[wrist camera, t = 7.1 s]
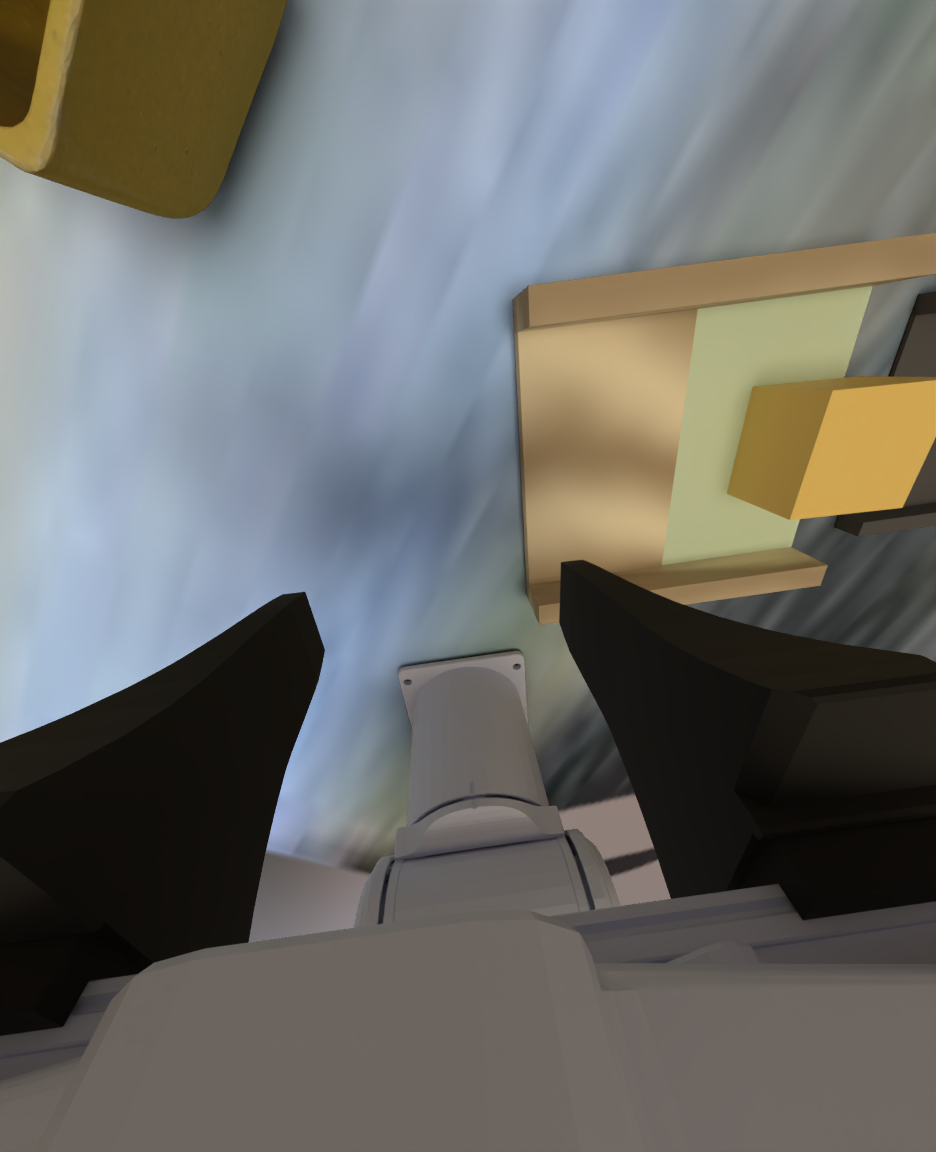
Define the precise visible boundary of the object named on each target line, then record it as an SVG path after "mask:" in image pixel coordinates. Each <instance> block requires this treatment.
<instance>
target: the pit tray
mask: <svg viewBox="0 0 936 1152" xmlns="http://www.w3.org/2000/svg"><path fill="white" fill-rule="evenodd" d="M889 377H936V292H931V293H924V294H919V296H918V298H917V301H916V304H915V307H914V310H913V312H912V315H911V318H910V321H909V323H908V326H907V329H906V332H905V334H904V337H903V340H902V343H901V345H900V348H899V351H898V354H897V356H896V359H895V362H894V365H893V367H892V370H891V373H890V376H889ZM929 526H936V438H935V440H934V442H933V444H932V446H931V448H930V450H929V452H928V455H927V457H926V459H925V461H924V463H923V465H922V467H921V469H920V472H919V474H918V476H917V478H916V480H915V482H914V484H913V486H912V489H911V491H910V493H909V495H908V497H907V499H906V501H905V503H904V505H903V508H896V509H887V510H878V511H869V512H860V513H851V514H841V515H839V516H838V519H837V522H836V525H835V528H838V529H840V530H843V531H845V532H848V533H850V534H853V535H856V536H865V535H872V534H879V533H886V532H894V531H901V530H908V529H915V528H922V527H929Z"/></svg>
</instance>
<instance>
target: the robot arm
mask: <svg viewBox="0 0 936 1152" xmlns="http://www.w3.org/2000/svg"><path fill="white" fill-rule="evenodd" d="M559 623H560V626H561V628H562V631H563V634H564V637H565V640H566V643H567V645H568V648H569V651H570V653H571V655H572V657H573V659H574V660H575V662H576V664H577V666H578V668H579V670H580V672H581V674H582V676H583V678H584V680H585V681H586V683H587V685H588V687H589V689H590V691H591V693H592V695H593V697H594V698H595V700H596V702H597V704H598V706H599V708H600V710H601V712H602V714H603V716H604V718H605V720H606V722H607V724H608V726H609V728H610V731H611V733H612V736H613V738H614V741H615V743H616V746H617V748H618V751H619V753H620V756H621V758H622V761H623V763H624V766H625V768H626V771H627V774H628V776H629V779H630V782H631V784H632V787H633V790H634V792H635V795H636V798H637V800H638V803H639V806H640V809H641V811H642V814H643V817H644V820H645V823H646V826H647V828H648V831H649V834H650V837H651V840H652V843H653V846H654V848H655V851H656V854H657V857H658V860H659V863H660V866H661V870H662V873H663V875H664V879H665V882H666V885H667V888H668V891H669V894H670V897H671V899H668V900H660V901H653V902H646V903H639V904H632V905H626V906H620V903H619V900H618V896H617V893H616V891H615V888H614V885H613V882H612V879H611V877H610V874H609V872H608V869H607V867H606V865H605V862H604V860H603V858H602V856H601V854H600V852H599V851H598V849H597V848H596V846H595V845H594V844H593V843H592V842H590V841H589V840H588V839H587V838H585V836H584V835H583V834H582V833H581V832H580V831H579V830H578V829H572V830H565V831H564V830H563V826H562V823H561V819H560V815H559V812H558V808H557V807H556V806H549V804H548V800H547V796H546V793H545V789H544V785H543V781H542V778H541V774H540V770H539V766H538V762H537V759H536V755H535V751H534V747H533V744H532V740H531V736H530V732H529V728H528V717H527V700H526V683H525V666H524V657H523V654H522V653H521V652H519V651H511V652H504V653H497V654H490V655H483V656H476V657H469V658H462V659H455V660H448V661H441V662H434V663H427V664H420V665H413V666H406V667H402V668H401V669H400V670H399V672H398V678H399V682H400V685H401V689H402V693H403V697H404V700H405V704H406V708H407V711H408V715H409V719H410V723H411V726H412V745H411V762H410V778H409V795H408V812H407V827H403V828H399V829H397V832H396V844H395V855H394V856H387V857H383V858H381V859H380V860H379V861H378V862H377V864H376V866H375V868H374V870H373V872H372V873H371V875H370V876H369V877H368V879H367V881H366V883H365V885H364V887H363V890H362V893H361V896H360V900H359V904H358V908H357V913H356V919H355V925H354V928H349V929H342V930H335V931H327V932H320V933H313V934H306V935H300V936H292V937H285V938H278V939H270V940H263V941H256V942H249V943H248V941H249V935H250V929H251V924H252V918H253V912H254V906H255V901H256V897H257V891H258V886H259V881H260V877H261V872H262V867H263V861H264V856H265V852H266V848H267V843H268V839H269V835H270V830H271V826H272V822H273V817H274V813H275V809H276V805H277V801H278V797H279V794H280V790H281V786H282V782H283V778H284V774H285V771H286V768H287V765H288V762H289V759H290V756H291V753H292V750H293V748H294V745H295V742H296V740H297V737H298V734H299V732H300V729H301V726H302V724H303V721H304V719H305V716H306V713H307V711H308V708H309V705H310V703H311V700H312V697H313V695H314V692H315V689H316V686H317V683H318V680H319V676H320V672H321V667H322V662H323V657H324V652H325V649H324V646H323V643H322V640H321V637H320V634H319V631H318V628H317V625H316V623H315V620H314V617H313V614H312V611H311V608H310V605H309V602H308V599H307V596H306V593H305V592H300V593H291V594H283V595H281V596H279V597H277V598H275V599H273V600H272V601H270V602H268V603H267V604H265V605H264V606H262V607H260V608H259V609H257V610H256V611H254V612H253V613H251V614H250V615H248V616H247V617H245V618H244V619H242V620H241V621H239V622H238V623H236V624H235V625H233V626H232V627H230V628H229V629H227V630H226V631H224V632H223V633H221V634H220V635H218V636H217V637H215V638H213V639H212V640H210V641H209V642H207V643H205V644H204V645H202V646H201V647H199V648H197V649H196V650H194V651H193V652H191V653H189V654H188V655H186V656H185V657H183V658H181V659H180V660H178V661H176V662H174V663H173V664H171V665H169V666H167V667H166V668H164V669H162V670H160V671H158V672H156V673H155V674H153V675H151V676H149V677H147V678H145V679H143V680H141V681H139V682H138V683H136V684H134V685H132V686H130V687H128V688H126V689H124V690H122V691H119V692H117V693H115V694H113V695H111V696H109V697H107V698H104V699H102V700H100V701H98V702H96V703H94V704H92V705H89V706H87V707H85V708H83V709H81V710H79V711H76V712H74V713H72V714H70V715H68V716H65V717H63V718H61V719H58V720H56V721H53V722H51V723H49V724H46V725H44V726H41V727H39V728H37V729H34V730H32V731H29V732H27V733H24V734H21V735H19V736H16V737H14V738H11V739H9V740H6V741H4V742H1V743H0V1152H936V662H934V661H932V660H930V659H928V658H926V657H924V656H921V655H915V654H908V653H901V652H894V651H886V650H879V649H872V648H865V647H857V646H850V645H843V644H837V643H831V642H826V641H821V640H815V639H810V638H805V637H799V636H794V635H790V634H785V633H780V632H776V631H771V630H767V629H763V628H759V627H755V626H751V625H747V624H744V623H740V622H736V621H732V620H729V619H725V618H722V617H718V616H715V615H712V614H709V613H706V612H703V611H700V610H697V609H694V608H691V607H688V606H686V605H683V604H680V603H678V602H675V601H673V600H670V599H668V598H665V597H663V596H660V595H658V594H656V593H653V592H651V591H649V590H647V589H644V588H642V587H640V586H638V585H636V584H633V583H631V582H629V581H627V580H625V579H623V578H621V577H619V576H617V575H615V574H613V573H611V572H609V571H607V570H605V569H603V568H601V567H599V566H597V565H594V564H592V563H590V562H588V561H585V560H575V561H566V562H561V577H560V612H559ZM514 664H518V665H517V666H514ZM406 679H409V680H410V681H406Z"/></svg>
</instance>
